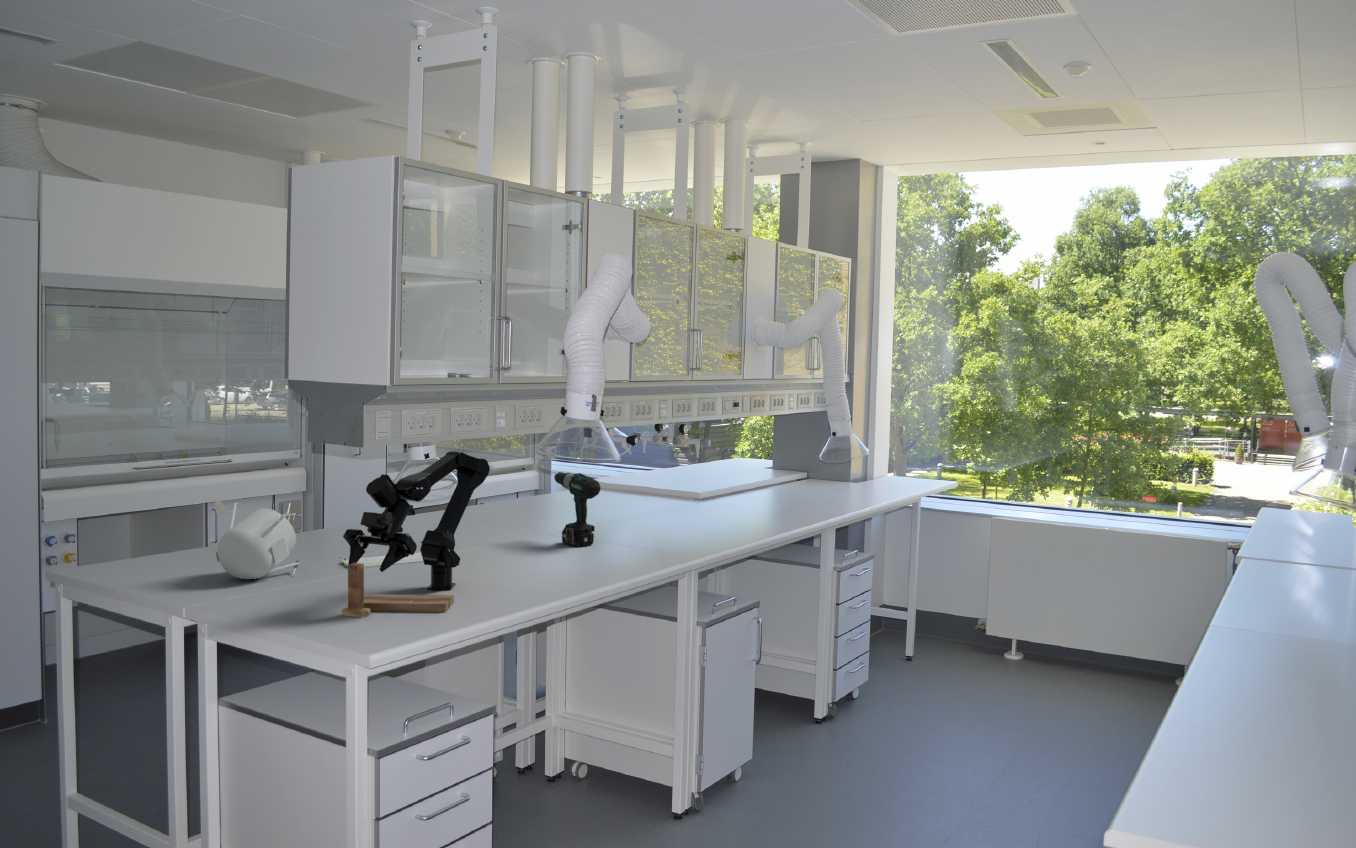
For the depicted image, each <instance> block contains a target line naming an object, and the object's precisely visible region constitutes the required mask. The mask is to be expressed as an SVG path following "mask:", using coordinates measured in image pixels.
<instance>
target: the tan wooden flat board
mask: <svg viewBox="0 0 1356 848" xmlns="http://www.w3.org/2000/svg"><path fill="white" fill-rule="evenodd" d="M454 603H455V595H454V594H391V593H388V594H386V593H385V594H383V593H379V594H378V593H375V594H374V593H370V594H369V593H368V594H367V595H364V608H369V609H370V612H392V613H393V612H394V613H395V612H398V613H399V612H404V613H405V612H406V613H411V612H414V613H415V612H416V613H446V612H448V610H449V609H450V608H451V607H452V606H453V605H454ZM450 606H451V607H450Z"/></svg>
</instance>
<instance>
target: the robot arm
mask: <svg viewBox="0 0 1356 848" xmlns="http://www.w3.org/2000/svg"><path fill="white" fill-rule="evenodd" d="M490 467H491V466H490V464H489V461H487V459H486V458H480V457H479V458H478V457H475V456H473V455H472V456H471V455H470V454H469V455H468V454H467V453H465V452H463V451H455V450H451V451H447V452H446V453H445V455H444V456H442V457H441V458H439V459H438V460H436V461H435V462H433V463H432V464H431V465H429V466H427V467H426V468H425V469H423V470H422V471H420V472H418V473H415V474H410V475H407V476H404V477H402V478H400V479H399V480H397V482H396V483H394V481H393V480H392V479H391V477H390V475H389V474H385V473H382V474H381V475H380V476H379V477H376V478H374V479H373V480H372V481H371V482H369V483H368V484H367V485H366V488H365V491H366V494H368V495H369V497H370V498H371V499H372V500H373V501H374V502H375V504H376V505H377V506H378V507H379V508H382V509H383V508H384V510H383V512H382V513H378V512H373V511H372V512H369V511H364V512H363V514H362V517H361V521H360V525H361V526H364V527H367V529H366V531H367V532H368V533H370V535H368V534H365V533H364V532H363V530H362V529H359V528H347V529H346V530H345V532H344V533H343V536H342V537H343V539H344V540H345V541H346V543H347V544H348V545H349V557H348V559H349V563H348V565H349V564H352V563H357V562H358V561H359V559H360V558H363V556H364V555H365V553H366V549H367V548H368V547H369V544H370V545H380V546H383V547H384V546H386V547H388V551H387V553H386V554H385V555H384V556H385V558H384V560H383V562H382V564H381V566H379V571H380V572H382V573H383V572H385V571H386V570H388V569H390V567H392V566H393V564H394V563H396V562H398V561H399V560H401V559H403V558H404V557H408V556H409V555H414V553H416V551H417V549H418V548H417V543H416V541H415V540H414V539H413V538H412V536H411V534H410V533H404V532H403V531H404V528H403V524H404V522H405V521H406V518H407V516H415V515H416V511H415V509H414V505H413V504H410V503H409V502H417V503H418V502H421V501H423V500H424V499H425V498H426V497H427V495H429V494H430V493H431V490H432V487H433V486H434V485H435V484H437V483H438V482H440V481H441V480H442V479H444V478H445V477H447V476H448V475H449V474H451V473H452V472H454V471H456V478H457V480H456V481H457V484H456V485H455V488H454V491H453V493H452V495H451V497H450V499H449V501H448V504H447V505H446V508H445V510H444V513H443V514H442V516H441V518H440V520H439V523H438V525H437V527H436V528H435V529H433V530H430V529H429V530H427V531H426V532H425V534H424V536H423V539H422V541H420V544H421V545H420V548H419V549H420V553H421V555H422V558H423V561H424V562H423V564H424V565H425V566H430V584H429V585H428V586H427V587H426V588H427V590H430V591H431V590H435V591H436V590H437V591H438V590H441V591H442V590H444V591H445V590H448V591H451V590H452V589H454V587H455V586H456V582H453V568H456V567H458V566H460V562H461V557H460V556H459V555H458V554H457V552H456V551H455V547H456V539H455V533H456V531H457V529H458V527H459V524H460V523H461V519H462V518H463V516H464V514H465V511H466V508H467V507H468V504H469V502H470V499H471V497H472V495H473V494H474V491H475V490H476V489H477V488H479V487H480V486H481V485H482V484H484V482H485V480H486V479H487V477H488V476H489V473H490V471H491V468H490ZM408 501H409V502H408Z"/></svg>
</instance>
